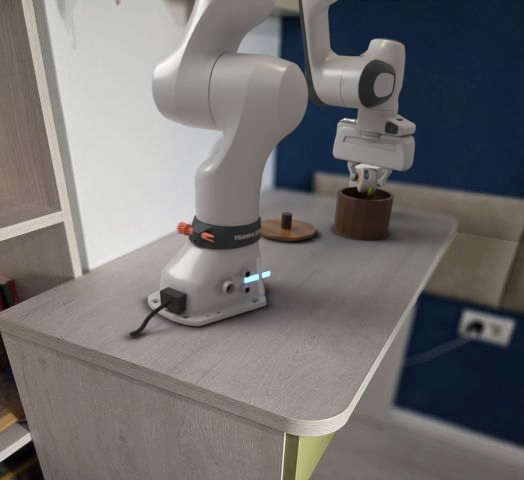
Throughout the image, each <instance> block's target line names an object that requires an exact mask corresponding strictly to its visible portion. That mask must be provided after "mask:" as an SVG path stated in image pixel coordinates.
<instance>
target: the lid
mask: <svg viewBox="0 0 524 480" xmlns="http://www.w3.org/2000/svg"><path fill="white" fill-rule="evenodd" d="M261 227H262V230H261V236H262V237H265V238H267V239H272V240H275V241H285V242H286V241H288V242H289V241H290V242H291V241H292V242H293V241H295V242H296V241H304V240H308V239H310V238H312V237H314V236H315V235H316V227H315V226H314V225H313V224H311V223H309V222H307V221H303V220H299V219H294V218H293V213H292V212H289V211H283V212H281V218H270V219H267V220H262V221H261Z"/></svg>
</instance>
